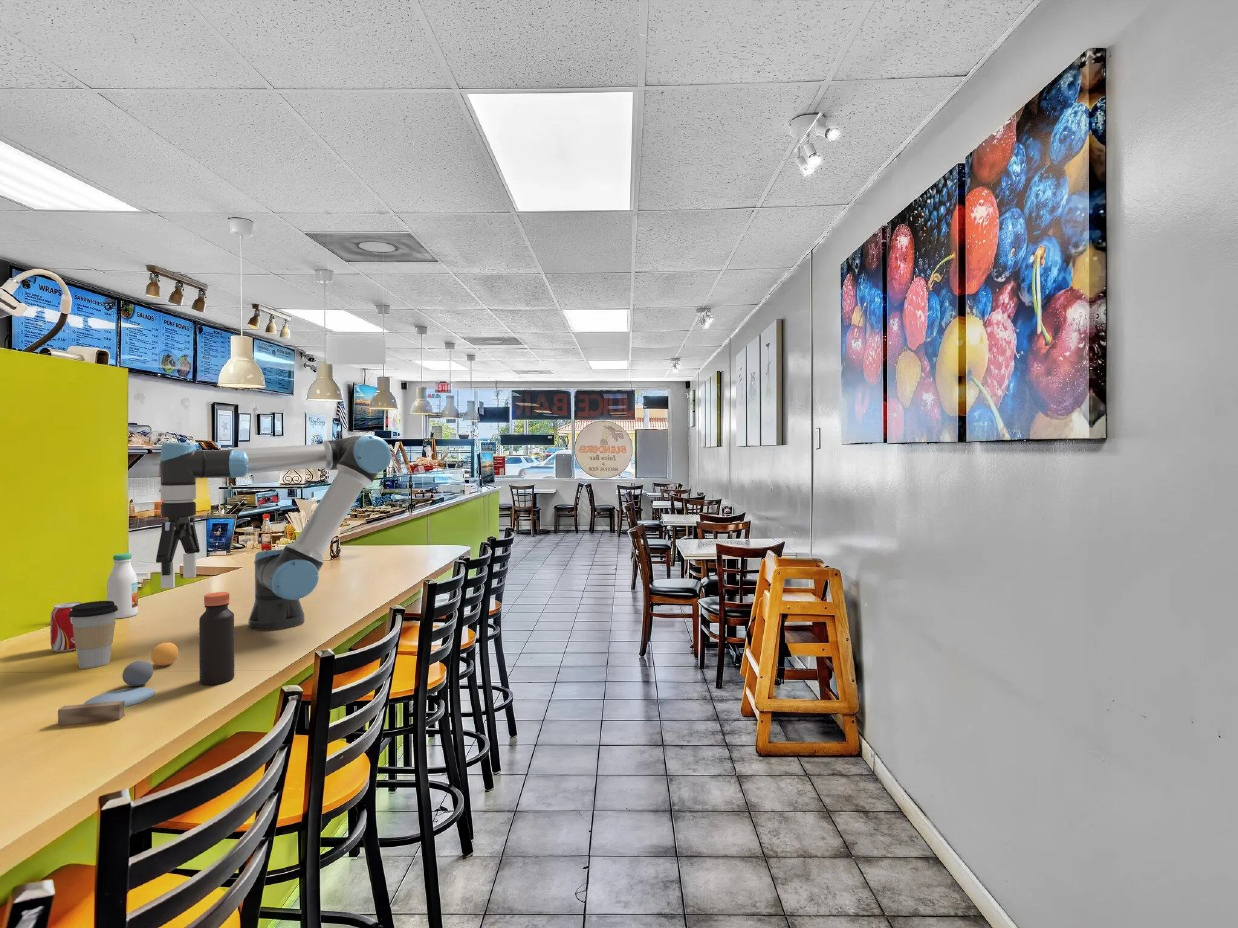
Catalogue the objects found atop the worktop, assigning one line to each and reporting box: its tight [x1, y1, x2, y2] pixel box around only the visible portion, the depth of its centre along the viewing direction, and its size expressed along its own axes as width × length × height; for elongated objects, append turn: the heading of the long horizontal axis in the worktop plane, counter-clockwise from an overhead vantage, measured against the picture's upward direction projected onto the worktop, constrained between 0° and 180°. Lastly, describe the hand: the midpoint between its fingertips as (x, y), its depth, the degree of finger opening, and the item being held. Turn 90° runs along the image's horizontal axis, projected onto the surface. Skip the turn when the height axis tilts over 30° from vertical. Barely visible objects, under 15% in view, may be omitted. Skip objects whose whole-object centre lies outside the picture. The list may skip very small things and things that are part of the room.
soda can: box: [49, 601, 83, 653], centre depth 165 cm, size 7×7×12 cm
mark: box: [83, 687, 156, 708], centre depth 132 cm, size 12×12×1 cm
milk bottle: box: [106, 552, 139, 620], centre depth 198 cm, size 8×8×20 cm
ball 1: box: [121, 660, 154, 687], centre depth 139 cm, size 6×6×6 cm
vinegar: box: [198, 591, 235, 686], centre depth 142 cm, size 7×7×20 cm
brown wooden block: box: [57, 701, 126, 726], centre depth 121 cm, size 10×2×3 cm, turn 106°
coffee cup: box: [68, 600, 118, 669], centre depth 153 cm, size 9×9×15 cm
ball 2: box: [150, 642, 179, 667], centre depth 153 cm, size 6×6×6 cm
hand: (179, 582), depth 162 cm, fingers open, 13 cm apart
